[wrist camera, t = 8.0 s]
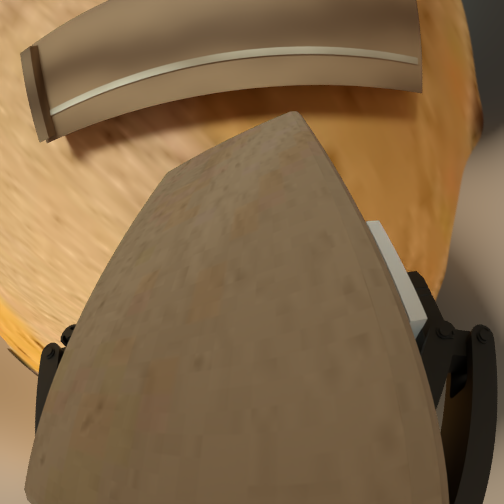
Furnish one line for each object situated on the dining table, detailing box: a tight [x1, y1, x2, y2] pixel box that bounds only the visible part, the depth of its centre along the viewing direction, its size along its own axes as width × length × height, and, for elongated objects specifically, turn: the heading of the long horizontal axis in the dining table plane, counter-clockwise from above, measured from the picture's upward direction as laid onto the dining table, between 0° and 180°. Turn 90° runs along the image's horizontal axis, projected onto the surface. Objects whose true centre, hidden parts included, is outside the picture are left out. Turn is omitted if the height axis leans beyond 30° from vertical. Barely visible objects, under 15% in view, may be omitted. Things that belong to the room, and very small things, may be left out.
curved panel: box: [20, 0, 422, 143], centre depth 13 cm, size 9×28×4 cm, turn 97°
